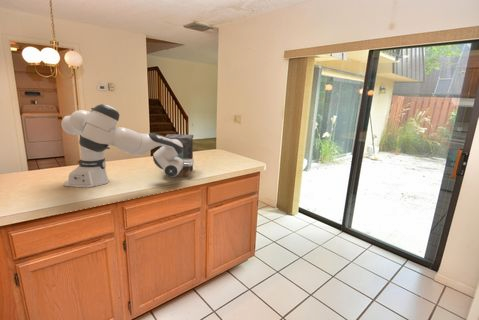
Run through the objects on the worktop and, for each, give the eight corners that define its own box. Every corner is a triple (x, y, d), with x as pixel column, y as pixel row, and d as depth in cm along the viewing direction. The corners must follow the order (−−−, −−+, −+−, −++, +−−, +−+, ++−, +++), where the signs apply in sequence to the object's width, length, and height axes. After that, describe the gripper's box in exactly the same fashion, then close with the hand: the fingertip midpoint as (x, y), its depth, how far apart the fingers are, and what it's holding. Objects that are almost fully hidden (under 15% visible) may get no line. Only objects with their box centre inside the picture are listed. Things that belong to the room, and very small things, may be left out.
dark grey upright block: (164, 176, 162) (163, 137, 156) (169, 169, 178) (168, 134, 172) (190, 176, 164) (190, 138, 158) (193, 170, 179) (193, 134, 173)
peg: (175, 171, 167) (175, 150, 164) (176, 169, 171) (176, 149, 168) (182, 171, 167) (182, 150, 164) (183, 169, 172) (183, 149, 168)
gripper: (192, 159, 155) (195, 155, 168) (159, 158, 153) (164, 154, 167) (192, 169, 156) (195, 164, 170) (159, 168, 155) (164, 163, 168)
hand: (179, 159), depth 168 cm, fingers closed on peg, 4 cm apart
